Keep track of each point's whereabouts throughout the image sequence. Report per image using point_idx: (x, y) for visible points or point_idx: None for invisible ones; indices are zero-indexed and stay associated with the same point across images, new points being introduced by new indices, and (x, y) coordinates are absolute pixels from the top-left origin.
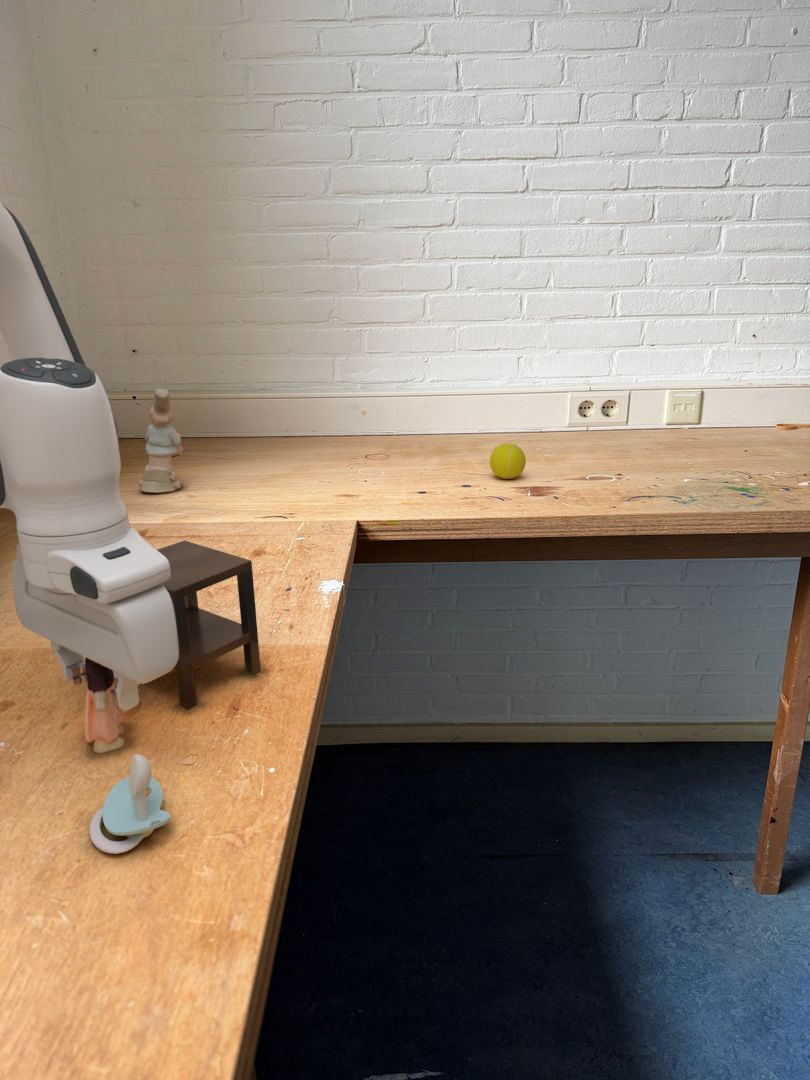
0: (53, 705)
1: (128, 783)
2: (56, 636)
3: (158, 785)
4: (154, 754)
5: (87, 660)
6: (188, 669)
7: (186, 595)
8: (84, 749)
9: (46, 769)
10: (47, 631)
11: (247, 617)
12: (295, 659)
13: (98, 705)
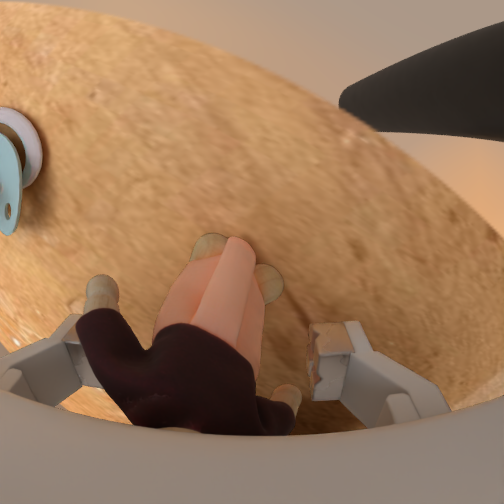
0: (432, 276)
1: (17, 200)
2: (347, 472)
3: (3, 231)
4: (125, 291)
5: (181, 413)
6: None
7: None
8: (242, 225)
9: (240, 137)
10: (437, 457)
11: None
12: None
13: (89, 286)
